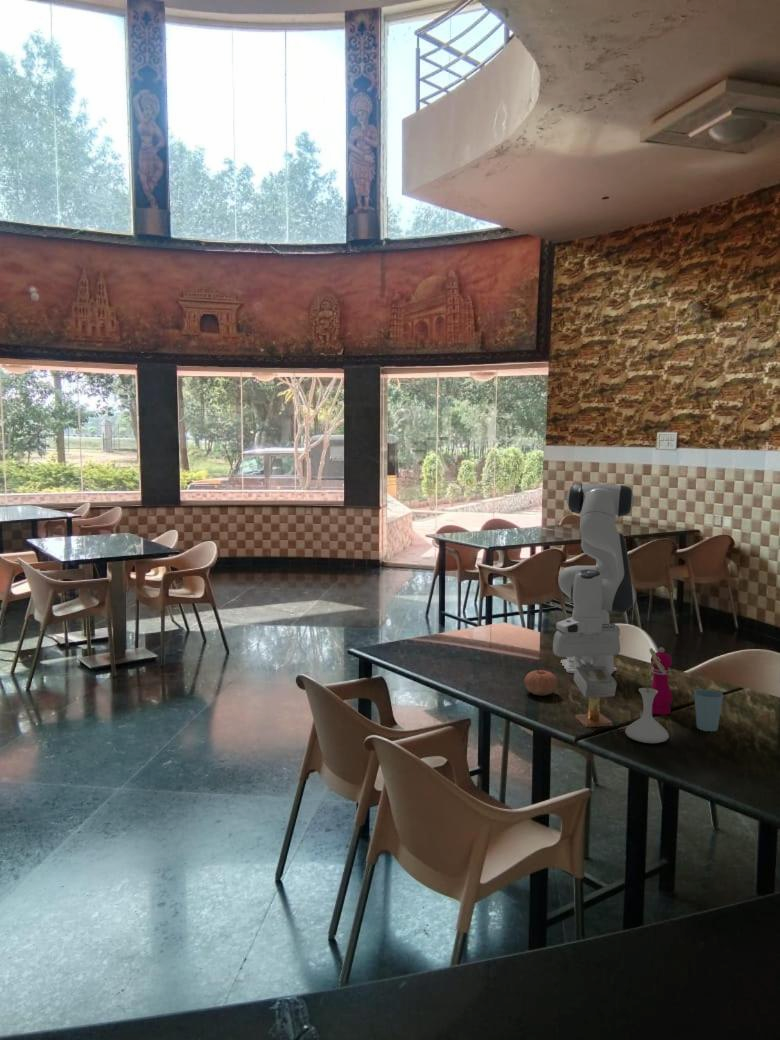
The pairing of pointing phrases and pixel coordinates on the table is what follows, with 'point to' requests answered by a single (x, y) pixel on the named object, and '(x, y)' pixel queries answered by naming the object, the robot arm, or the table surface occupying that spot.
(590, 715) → the post
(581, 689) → the steel link
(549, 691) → the orange pumpkin
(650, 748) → the table surface
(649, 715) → the flower in vase
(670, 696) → the pepper mill
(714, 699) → the cup
